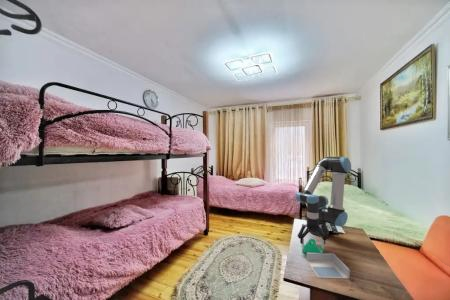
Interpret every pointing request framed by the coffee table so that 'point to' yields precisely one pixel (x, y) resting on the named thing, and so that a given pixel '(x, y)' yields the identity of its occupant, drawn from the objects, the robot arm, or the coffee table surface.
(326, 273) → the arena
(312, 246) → the camera mount
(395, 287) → the coffee table surface
